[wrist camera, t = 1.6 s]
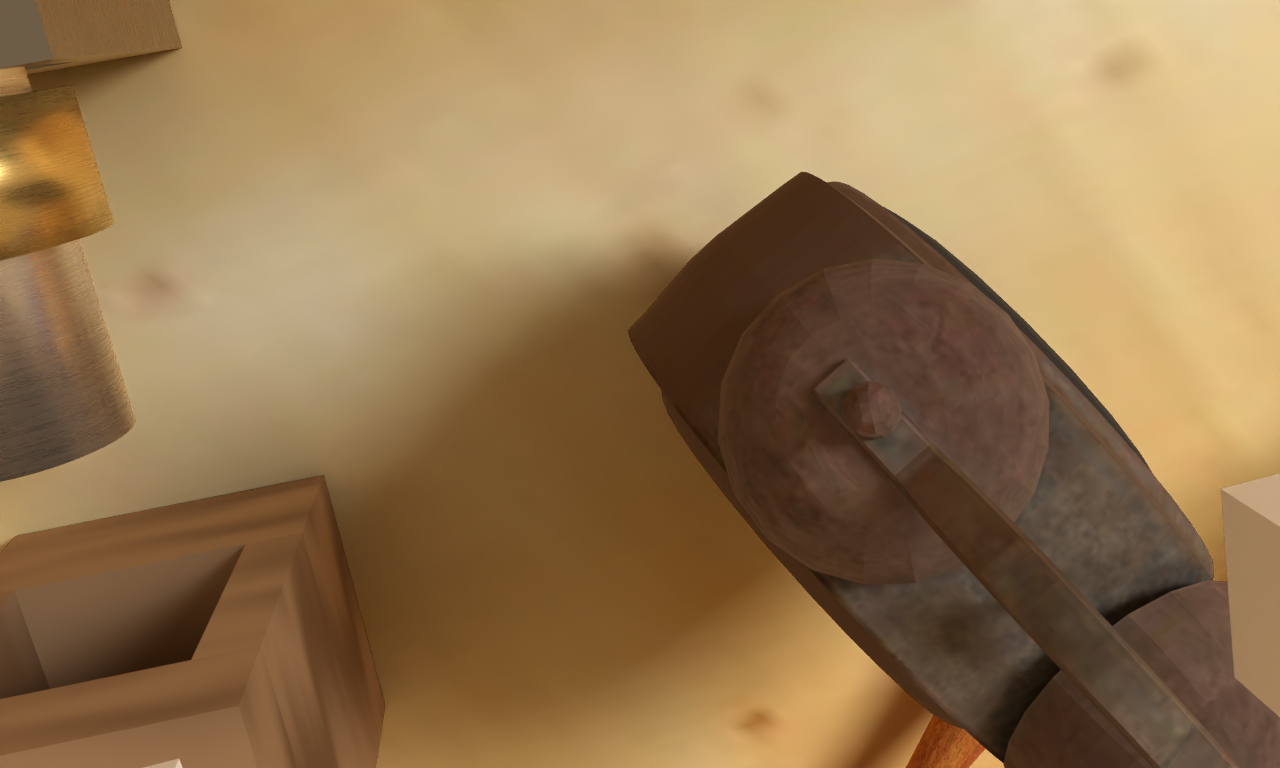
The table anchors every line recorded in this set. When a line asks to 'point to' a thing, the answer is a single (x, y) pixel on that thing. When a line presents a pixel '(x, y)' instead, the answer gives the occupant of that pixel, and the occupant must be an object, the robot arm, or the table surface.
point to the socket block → (188, 639)
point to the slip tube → (51, 287)
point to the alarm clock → (949, 490)
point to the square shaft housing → (82, 32)
